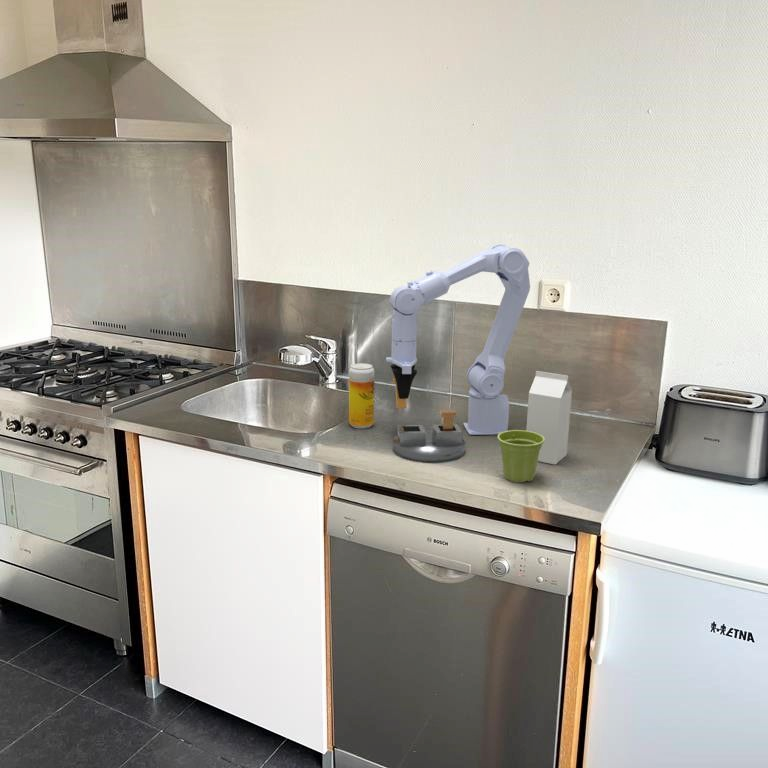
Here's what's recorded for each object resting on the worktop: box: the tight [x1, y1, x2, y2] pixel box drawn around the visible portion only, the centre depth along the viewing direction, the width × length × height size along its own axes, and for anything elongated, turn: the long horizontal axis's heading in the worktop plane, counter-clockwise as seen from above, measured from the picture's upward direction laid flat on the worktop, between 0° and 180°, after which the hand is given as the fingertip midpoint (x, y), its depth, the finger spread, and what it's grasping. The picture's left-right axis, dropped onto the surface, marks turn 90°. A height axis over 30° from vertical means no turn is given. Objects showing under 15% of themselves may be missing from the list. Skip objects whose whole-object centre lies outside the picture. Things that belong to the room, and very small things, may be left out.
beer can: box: [348, 362, 375, 430], centre depth 185 cm, size 6×6×15 cm
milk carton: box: [525, 370, 573, 466], centre depth 165 cm, size 7×7×19 cm
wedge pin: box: [392, 376, 407, 409], centre depth 178 cm, size 3×2×7 cm
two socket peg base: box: [392, 409, 466, 464], centre depth 170 cm, size 16×16×9 cm
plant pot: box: [497, 429, 545, 483], centre depth 155 cm, size 9×9×9 cm
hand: (402, 396), depth 178 cm, fingers closed on wedge pin, 2 cm apart
